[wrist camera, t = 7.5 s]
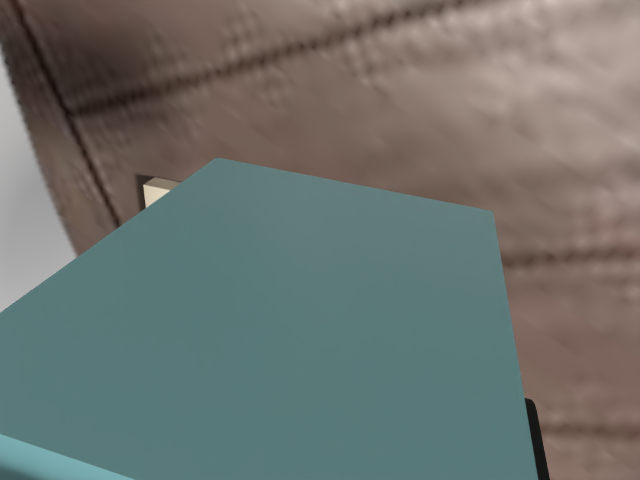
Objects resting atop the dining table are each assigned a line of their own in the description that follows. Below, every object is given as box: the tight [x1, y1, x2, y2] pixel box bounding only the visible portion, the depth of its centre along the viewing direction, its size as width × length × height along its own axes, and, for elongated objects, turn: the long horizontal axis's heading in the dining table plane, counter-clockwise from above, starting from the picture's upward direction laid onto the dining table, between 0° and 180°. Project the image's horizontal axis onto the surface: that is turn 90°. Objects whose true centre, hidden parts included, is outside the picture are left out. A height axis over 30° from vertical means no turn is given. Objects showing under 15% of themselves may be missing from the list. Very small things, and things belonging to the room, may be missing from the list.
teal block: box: [0, 157, 538, 480], centre depth 9 cm, size 7×7×8 cm
